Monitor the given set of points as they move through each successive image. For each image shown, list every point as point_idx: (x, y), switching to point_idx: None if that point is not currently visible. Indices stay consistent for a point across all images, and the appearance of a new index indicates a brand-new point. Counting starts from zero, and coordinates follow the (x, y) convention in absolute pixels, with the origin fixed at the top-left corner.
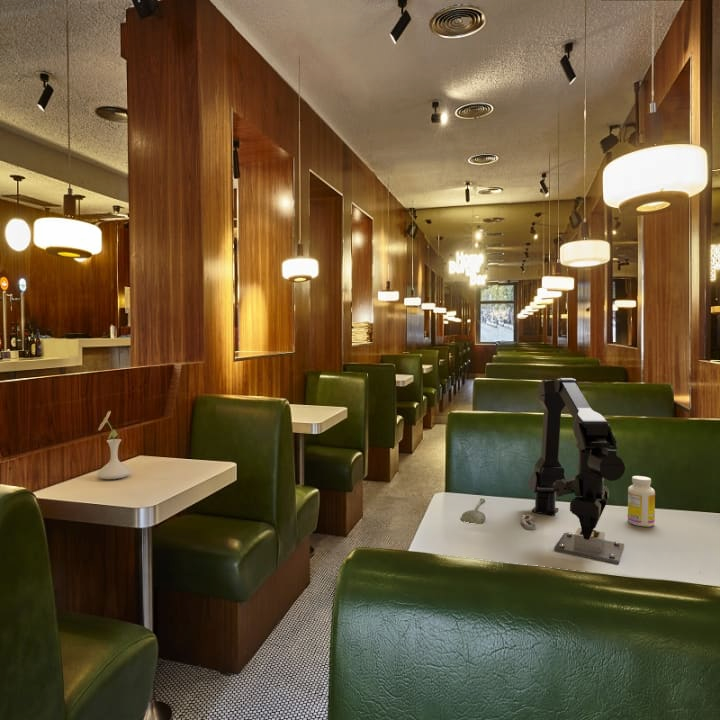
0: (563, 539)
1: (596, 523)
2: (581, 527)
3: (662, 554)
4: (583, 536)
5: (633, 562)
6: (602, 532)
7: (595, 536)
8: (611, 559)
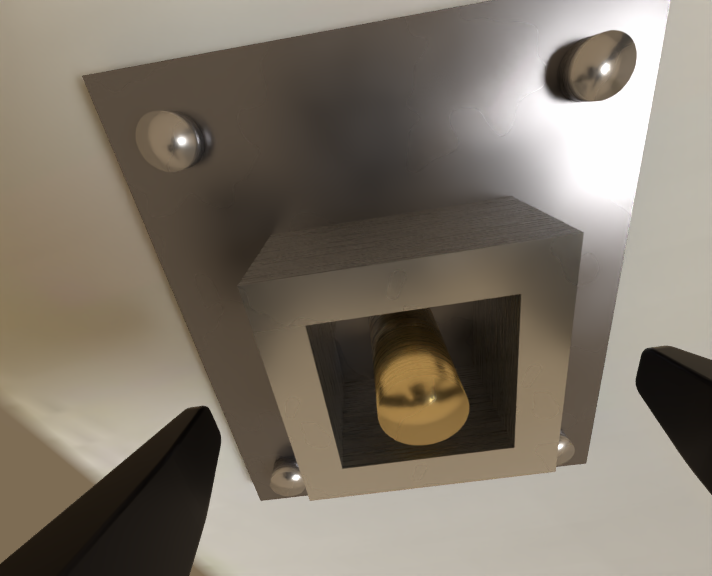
0: (407, 63)
1: (683, 452)
2: (19, 551)
3: (557, 563)
4: (165, 427)
5: (353, 515)
6: (532, 462)
7: (497, 382)
8: (250, 474)
